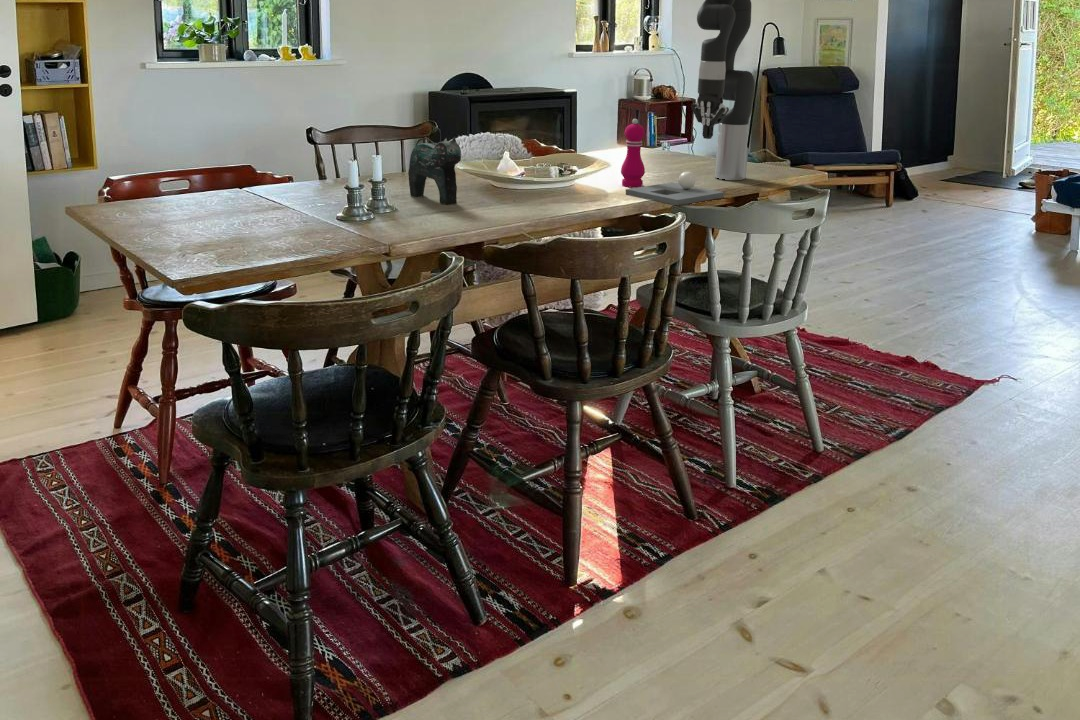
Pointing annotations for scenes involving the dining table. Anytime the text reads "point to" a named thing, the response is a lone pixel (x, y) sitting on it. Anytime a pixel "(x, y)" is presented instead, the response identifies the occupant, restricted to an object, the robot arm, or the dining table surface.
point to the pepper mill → (633, 156)
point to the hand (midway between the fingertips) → (707, 138)
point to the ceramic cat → (435, 168)
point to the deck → (674, 193)
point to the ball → (686, 180)
